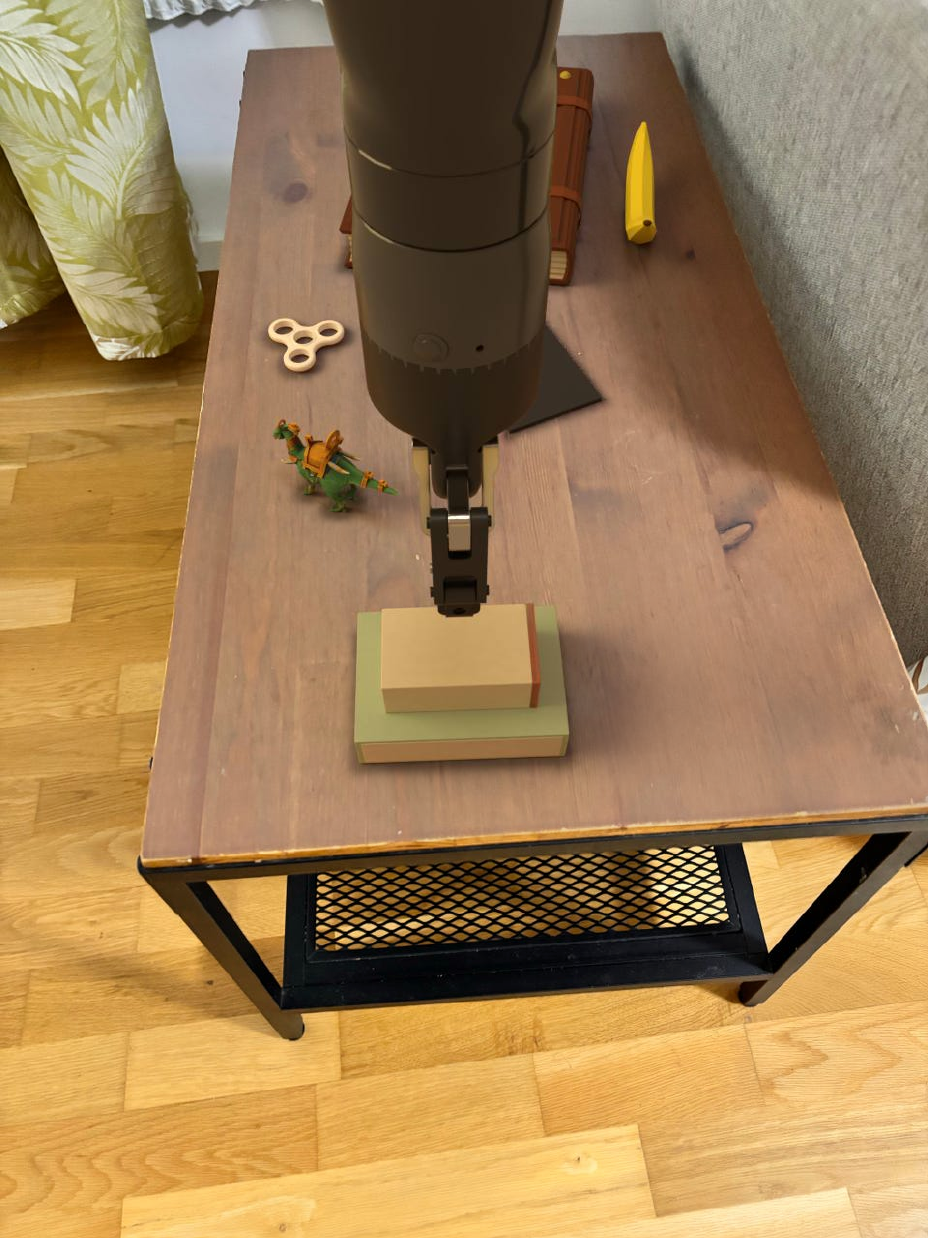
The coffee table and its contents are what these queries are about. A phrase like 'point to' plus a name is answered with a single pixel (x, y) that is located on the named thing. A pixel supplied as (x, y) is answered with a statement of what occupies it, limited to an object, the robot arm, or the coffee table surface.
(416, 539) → the coffee table surface
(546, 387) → the felt pad
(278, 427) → the figurine
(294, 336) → the fidget spinner
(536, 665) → the top book
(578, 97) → the book
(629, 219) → the banana
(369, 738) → the bottom book
